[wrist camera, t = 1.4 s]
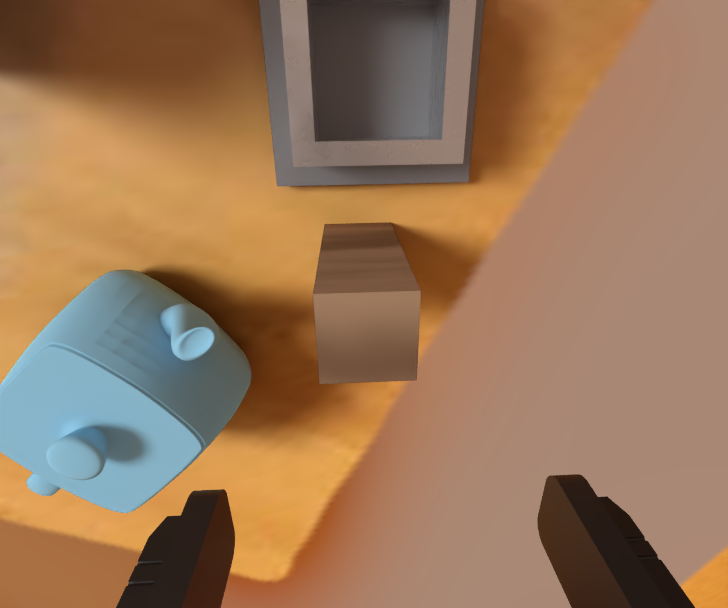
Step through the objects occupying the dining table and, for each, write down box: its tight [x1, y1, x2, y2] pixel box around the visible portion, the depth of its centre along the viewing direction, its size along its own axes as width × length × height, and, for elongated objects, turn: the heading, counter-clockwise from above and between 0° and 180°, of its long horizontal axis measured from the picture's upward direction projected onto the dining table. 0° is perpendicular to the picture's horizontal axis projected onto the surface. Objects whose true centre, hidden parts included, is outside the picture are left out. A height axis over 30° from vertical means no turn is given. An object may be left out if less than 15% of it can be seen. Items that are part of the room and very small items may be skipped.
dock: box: [259, 0, 485, 186], centre depth 22 cm, size 12×12×5 cm
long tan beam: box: [313, 223, 421, 384], centre depth 24 cm, size 4×4×12 cm
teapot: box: [0, 270, 252, 513], centre depth 26 cm, size 12×18×12 cm
